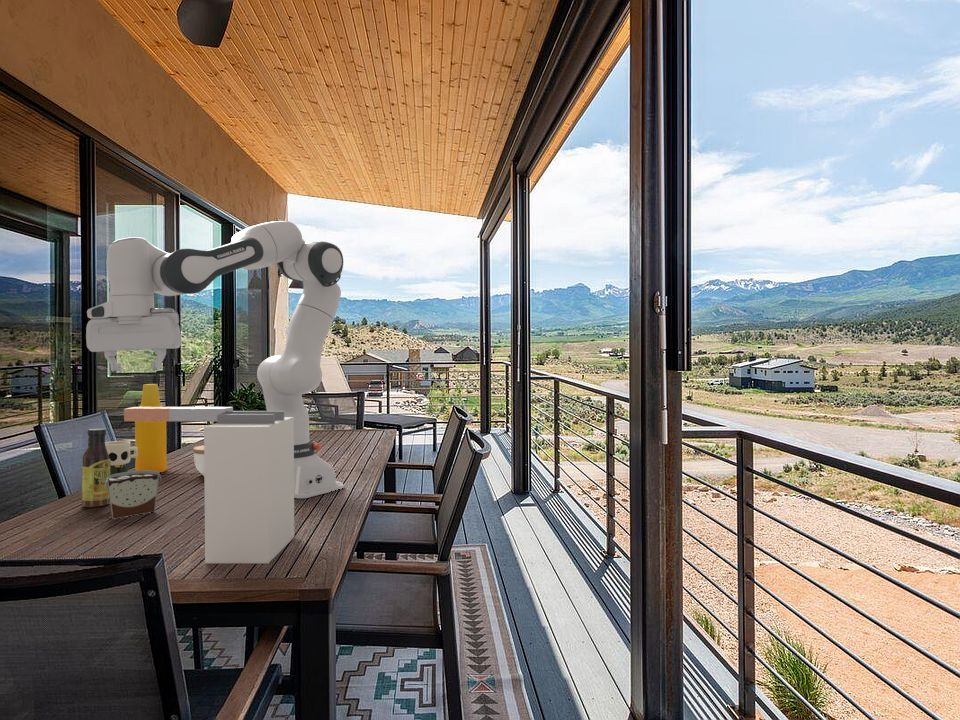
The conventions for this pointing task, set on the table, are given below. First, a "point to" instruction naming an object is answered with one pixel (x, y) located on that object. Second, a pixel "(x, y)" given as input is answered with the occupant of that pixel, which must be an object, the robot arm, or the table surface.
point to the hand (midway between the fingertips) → (136, 370)
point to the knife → (175, 413)
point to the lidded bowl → (199, 458)
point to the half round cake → (132, 492)
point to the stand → (248, 486)
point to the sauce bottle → (95, 470)
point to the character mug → (120, 455)
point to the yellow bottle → (151, 436)
